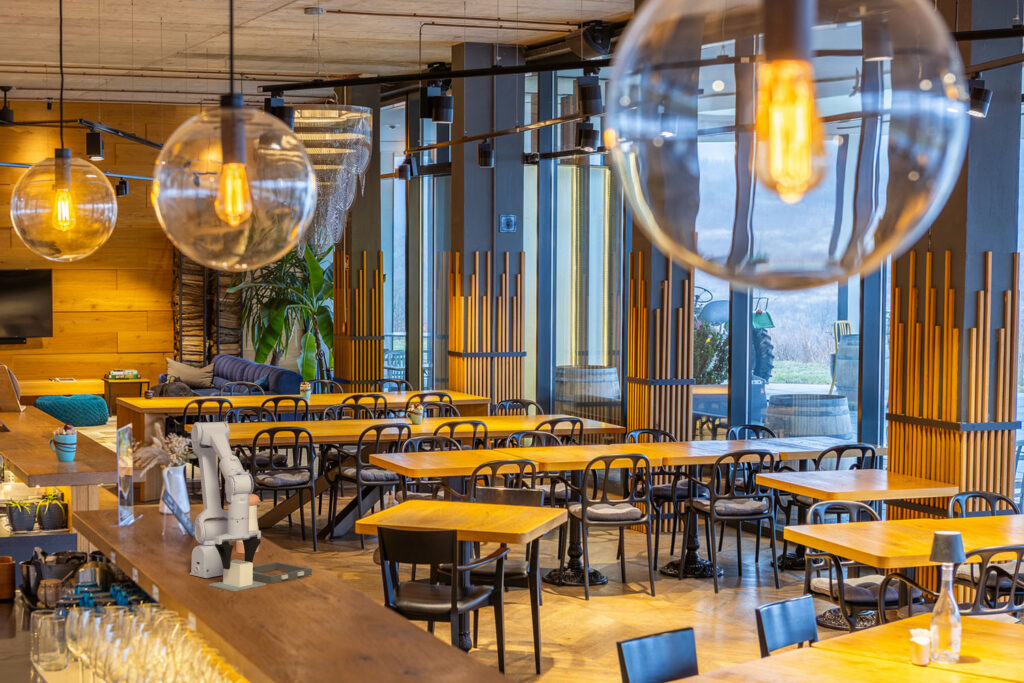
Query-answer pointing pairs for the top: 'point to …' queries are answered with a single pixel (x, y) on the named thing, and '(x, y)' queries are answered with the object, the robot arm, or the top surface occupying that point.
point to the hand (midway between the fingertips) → (237, 566)
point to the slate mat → (235, 588)
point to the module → (238, 573)
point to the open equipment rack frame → (292, 574)
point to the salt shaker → (250, 521)
